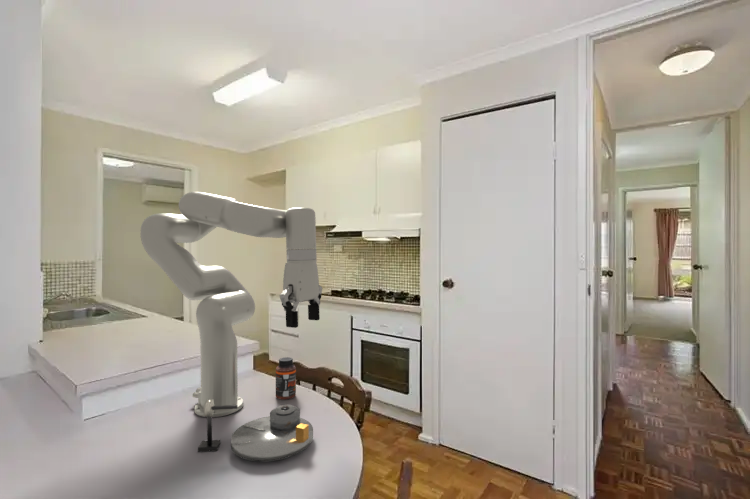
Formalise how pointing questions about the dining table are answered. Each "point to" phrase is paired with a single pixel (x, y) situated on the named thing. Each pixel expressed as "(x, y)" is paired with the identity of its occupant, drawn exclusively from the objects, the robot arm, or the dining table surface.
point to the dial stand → (208, 412)
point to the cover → (284, 418)
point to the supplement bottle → (285, 379)
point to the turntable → (270, 440)
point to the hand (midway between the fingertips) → (303, 323)
